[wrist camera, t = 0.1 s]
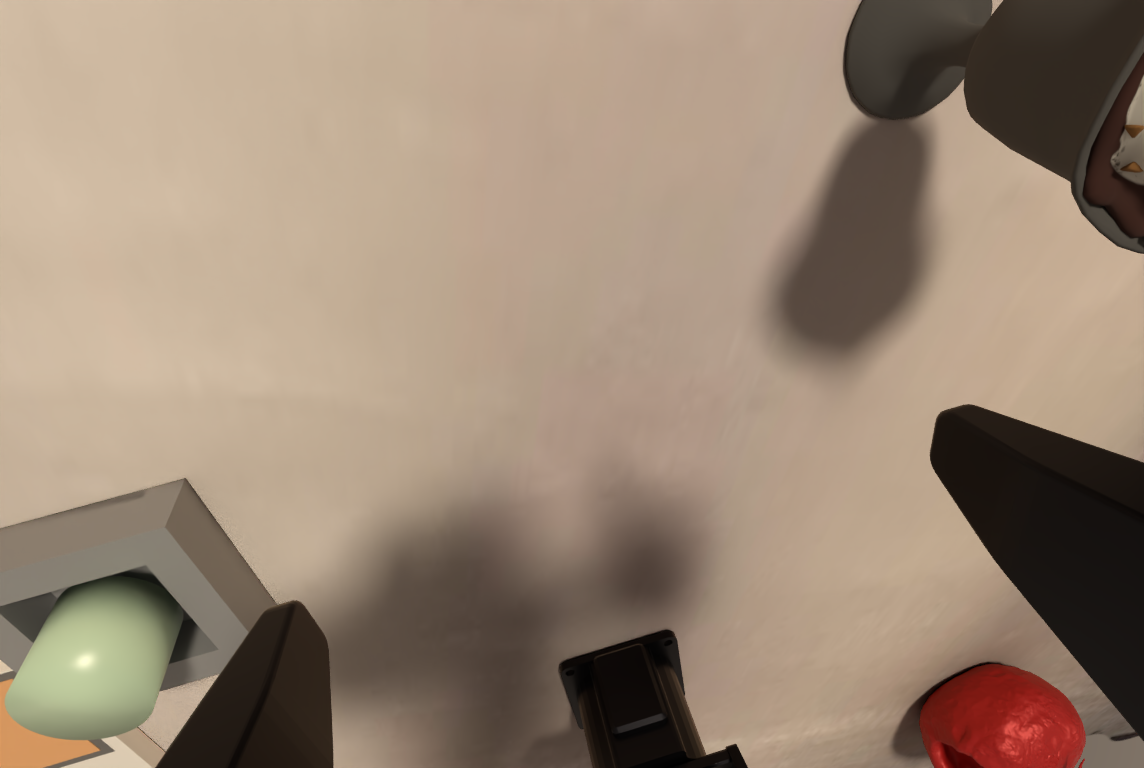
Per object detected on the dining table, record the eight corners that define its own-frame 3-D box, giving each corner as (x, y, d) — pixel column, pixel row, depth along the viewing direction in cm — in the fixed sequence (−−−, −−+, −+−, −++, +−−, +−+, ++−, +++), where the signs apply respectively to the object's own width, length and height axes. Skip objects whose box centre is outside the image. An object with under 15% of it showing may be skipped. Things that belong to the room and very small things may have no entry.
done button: (204, 630, 26) (178, 717, 23) (97, 661, 26) (57, 753, 23) (145, 563, 24) (108, 649, 21) (27, 596, 23) (-27, 689, 20)
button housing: (279, 608, 29) (269, 659, 27) (95, 661, 28) (70, 717, 26) (185, 478, 24) (165, 526, 22) (-38, 539, 24) (-80, 594, 21)
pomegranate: (1008, 624, 44) (1137, 762, 36) (1040, 678, 49) (1159, 808, 42) (882, 702, 46) (980, 848, 38) (926, 745, 51) (1020, 882, 43)
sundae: (945, 161, 24) (1527, 388, 11) (787, 121, 22) (1290, 345, 9) (1056, -52, 20) (2044, -58, 8) (882, -123, 18) (1850, -275, 6)
